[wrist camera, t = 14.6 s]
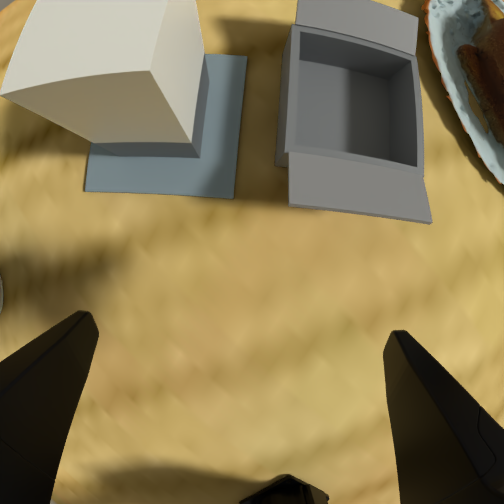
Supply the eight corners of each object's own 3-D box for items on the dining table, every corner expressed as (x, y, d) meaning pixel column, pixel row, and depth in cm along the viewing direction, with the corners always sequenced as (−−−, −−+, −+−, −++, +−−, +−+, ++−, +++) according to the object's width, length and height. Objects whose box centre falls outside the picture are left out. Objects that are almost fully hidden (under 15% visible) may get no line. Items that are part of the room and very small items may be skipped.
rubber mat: (233, 198, 19) (233, 198, 19) (87, 191, 18) (84, 191, 18) (247, 58, 18) (247, 56, 18) (111, 60, 17) (109, 58, 17)
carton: (390, 222, 20) (435, 225, 14) (271, 209, 19) (284, 205, 14) (388, 50, 18) (420, 17, 13) (284, 26, 18) (296, -19, 12)
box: (200, 158, 18) (149, 70, 6) (119, 156, 18) (-1, 95, 6) (209, 81, 18) (187, -53, 6) (132, 82, 17) (50, -25, 5)
